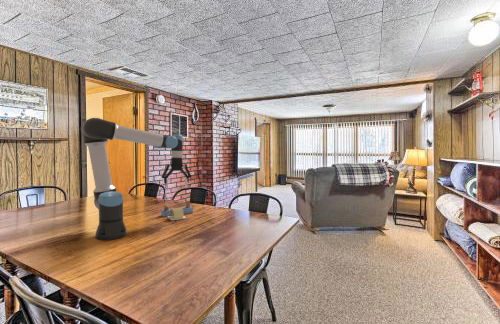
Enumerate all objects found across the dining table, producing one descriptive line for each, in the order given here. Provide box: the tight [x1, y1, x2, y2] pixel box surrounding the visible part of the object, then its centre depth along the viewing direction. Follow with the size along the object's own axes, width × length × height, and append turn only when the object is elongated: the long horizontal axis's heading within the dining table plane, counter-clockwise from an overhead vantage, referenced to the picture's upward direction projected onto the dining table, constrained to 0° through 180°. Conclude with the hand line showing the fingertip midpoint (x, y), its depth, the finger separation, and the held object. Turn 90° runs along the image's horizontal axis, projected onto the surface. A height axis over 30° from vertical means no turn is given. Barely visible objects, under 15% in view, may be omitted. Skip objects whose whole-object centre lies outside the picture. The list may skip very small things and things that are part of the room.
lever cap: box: [170, 207, 184, 219], centre depth 176 cm, size 6×8×6 cm
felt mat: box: [167, 215, 187, 221], centre depth 176 cm, size 9×10×1 cm
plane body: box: [160, 200, 194, 218], centre depth 187 cm, size 5×22×9 cm, turn 126°
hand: (176, 188), depth 175 cm, fingers open, 13 cm apart
